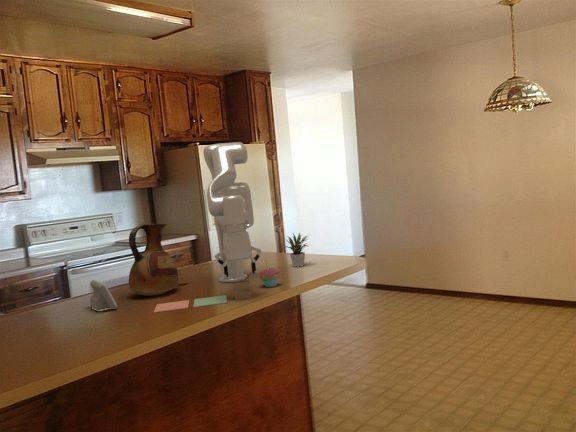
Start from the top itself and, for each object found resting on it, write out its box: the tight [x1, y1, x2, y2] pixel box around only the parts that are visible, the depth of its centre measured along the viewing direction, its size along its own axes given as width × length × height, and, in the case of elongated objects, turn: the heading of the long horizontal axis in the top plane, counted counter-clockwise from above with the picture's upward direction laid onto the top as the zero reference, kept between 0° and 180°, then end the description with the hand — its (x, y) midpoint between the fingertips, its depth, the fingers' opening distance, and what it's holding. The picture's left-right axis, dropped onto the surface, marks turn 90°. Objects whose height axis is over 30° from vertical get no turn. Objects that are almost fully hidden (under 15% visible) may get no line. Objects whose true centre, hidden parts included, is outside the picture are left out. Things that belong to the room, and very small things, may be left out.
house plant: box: [284, 232, 310, 267], centre depth 246 cm, size 14×14×16 cm
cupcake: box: [258, 257, 281, 288], centre depth 209 cm, size 9×8×12 cm
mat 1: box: [153, 299, 190, 314], centre depth 190 cm, size 12×12×1 cm
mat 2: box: [193, 294, 228, 308], centre depth 192 cm, size 12×12×1 cm
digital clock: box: [89, 279, 118, 310], centre depth 199 cm, size 16×9×11 cm, turn 24°
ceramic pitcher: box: [128, 223, 179, 296], centre depth 216 cm, size 20×20×30 cm
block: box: [232, 278, 252, 301], centre depth 194 cm, size 6×6×6 cm
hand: (240, 274), depth 193 cm, fingers open, 9 cm apart
